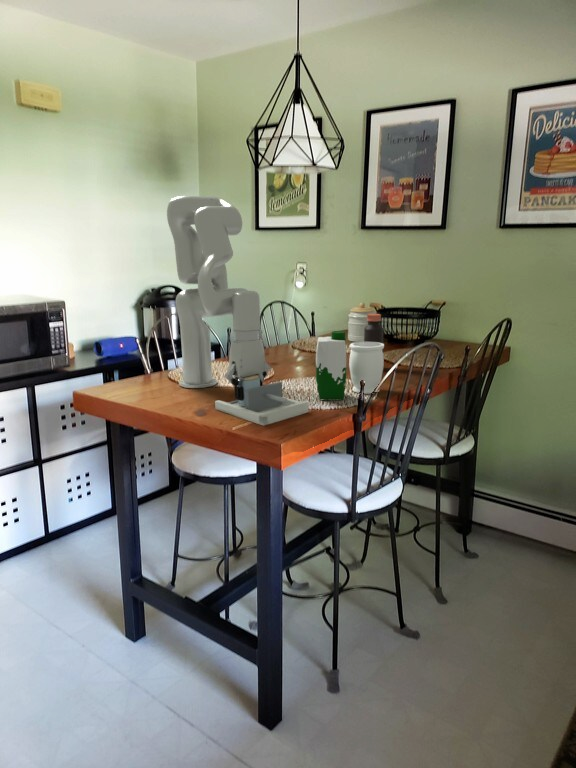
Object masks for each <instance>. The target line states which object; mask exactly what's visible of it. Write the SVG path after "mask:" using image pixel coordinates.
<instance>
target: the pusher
mask: <svg viewBox="0 0 576 768" xmlns="http://www.w3.org/2000/svg"><path fill="white" fill-rule="evenodd" d="M283 397H284V396H283V382H282V381H276V382H273V383H268V384H263V386H259V387H255V388H251V389H247V390H246V409H248V410H251V411H254V412H257V411H261V410H264V409H268V408H271V407H275V406H279V405H282V404H283V402H284V403H286V402H287V399H286V398H287V397H285V398H283Z"/></svg>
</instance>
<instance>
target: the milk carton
mask: <svg viewBox="0 0 576 768" xmlns="http://www.w3.org/2000/svg"><path fill="white" fill-rule="evenodd" d="M346 339H347V338H346V331H344V330H333V331H331V336H319V337H317V344H316V351H315V380H316V387H317V392H318V397H319V400H320V399H345V398H344V397H345V391H346V383H347V347H346V346H347V345H346V343H347V340H346Z"/></svg>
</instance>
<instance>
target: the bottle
mask: <svg viewBox="0 0 576 768" xmlns="http://www.w3.org/2000/svg"><path fill="white" fill-rule="evenodd" d="M381 321H382V314H380V313H374V314H368V315H367V322H368V325H367V326H366V327H365V329H364V342H378V343H382V344H384V328H383V326H382V325H381ZM382 352H383V353H384V348H383V349H382Z"/></svg>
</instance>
